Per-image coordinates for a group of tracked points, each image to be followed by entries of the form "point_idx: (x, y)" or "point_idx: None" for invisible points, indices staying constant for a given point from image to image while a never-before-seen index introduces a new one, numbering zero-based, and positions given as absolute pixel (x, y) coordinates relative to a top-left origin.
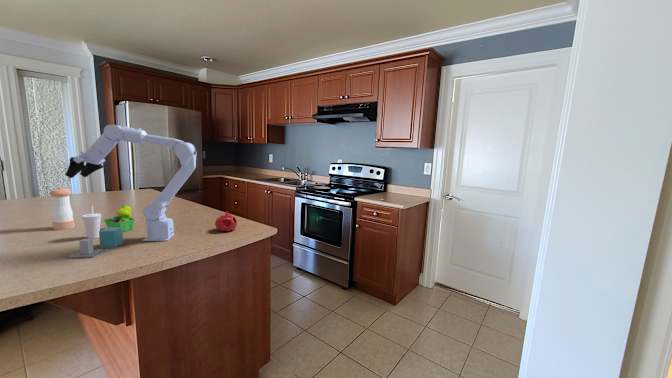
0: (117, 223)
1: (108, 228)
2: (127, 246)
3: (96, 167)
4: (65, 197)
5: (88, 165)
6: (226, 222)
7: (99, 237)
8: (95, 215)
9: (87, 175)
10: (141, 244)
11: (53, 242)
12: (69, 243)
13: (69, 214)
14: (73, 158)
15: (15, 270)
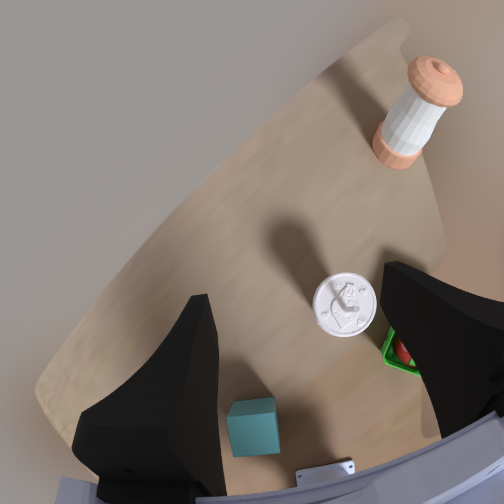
0: (383, 355)
1: (262, 423)
2: (252, 457)
3: (445, 415)
4: (431, 106)
5: (453, 338)
6: None
7: (229, 410)
8: (340, 326)
9: (393, 325)
10: (270, 479)
11: (270, 233)
12: (265, 285)
13: (411, 145)
14: (98, 461)
15: (96, 320)
